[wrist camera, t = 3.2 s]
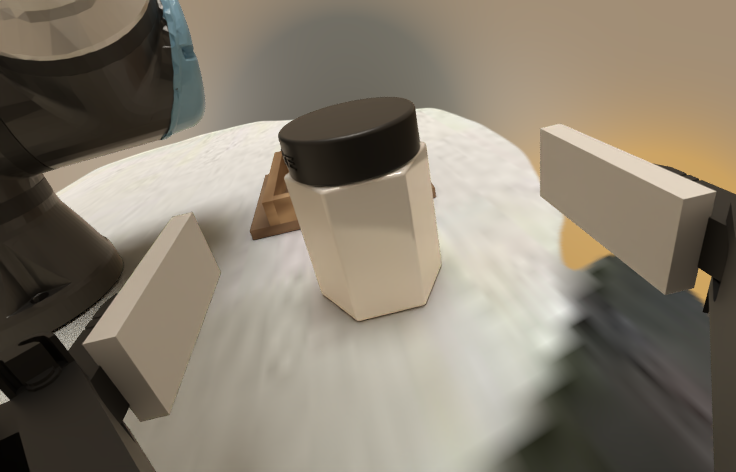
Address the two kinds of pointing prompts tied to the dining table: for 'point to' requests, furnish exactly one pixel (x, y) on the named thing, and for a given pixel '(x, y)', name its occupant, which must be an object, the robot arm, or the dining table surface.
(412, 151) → the jar
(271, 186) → the wooden tray
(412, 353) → the dining table surface
